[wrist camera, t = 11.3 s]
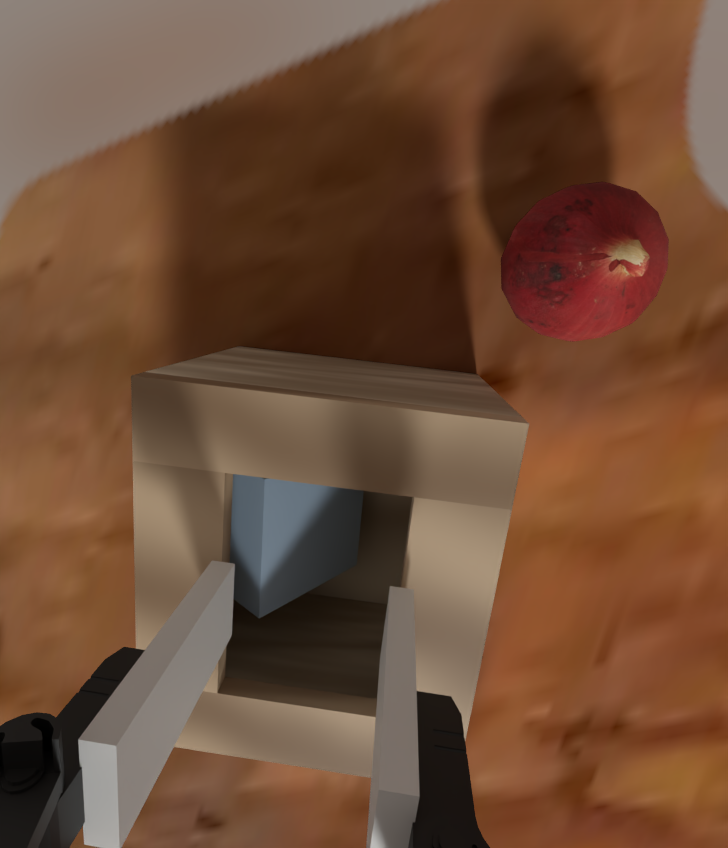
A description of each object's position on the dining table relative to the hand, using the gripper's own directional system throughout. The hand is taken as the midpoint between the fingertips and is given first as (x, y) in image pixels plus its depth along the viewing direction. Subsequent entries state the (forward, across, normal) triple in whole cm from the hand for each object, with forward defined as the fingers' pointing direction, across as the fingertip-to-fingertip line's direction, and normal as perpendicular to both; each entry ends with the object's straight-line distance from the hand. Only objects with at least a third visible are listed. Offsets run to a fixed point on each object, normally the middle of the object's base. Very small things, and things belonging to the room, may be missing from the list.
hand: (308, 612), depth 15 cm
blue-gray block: (+9, 0, 0) cm, 9 cm away
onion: (+11, +8, +12) cm, 18 cm away
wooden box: (+11, 0, 0) cm, 11 cm away
